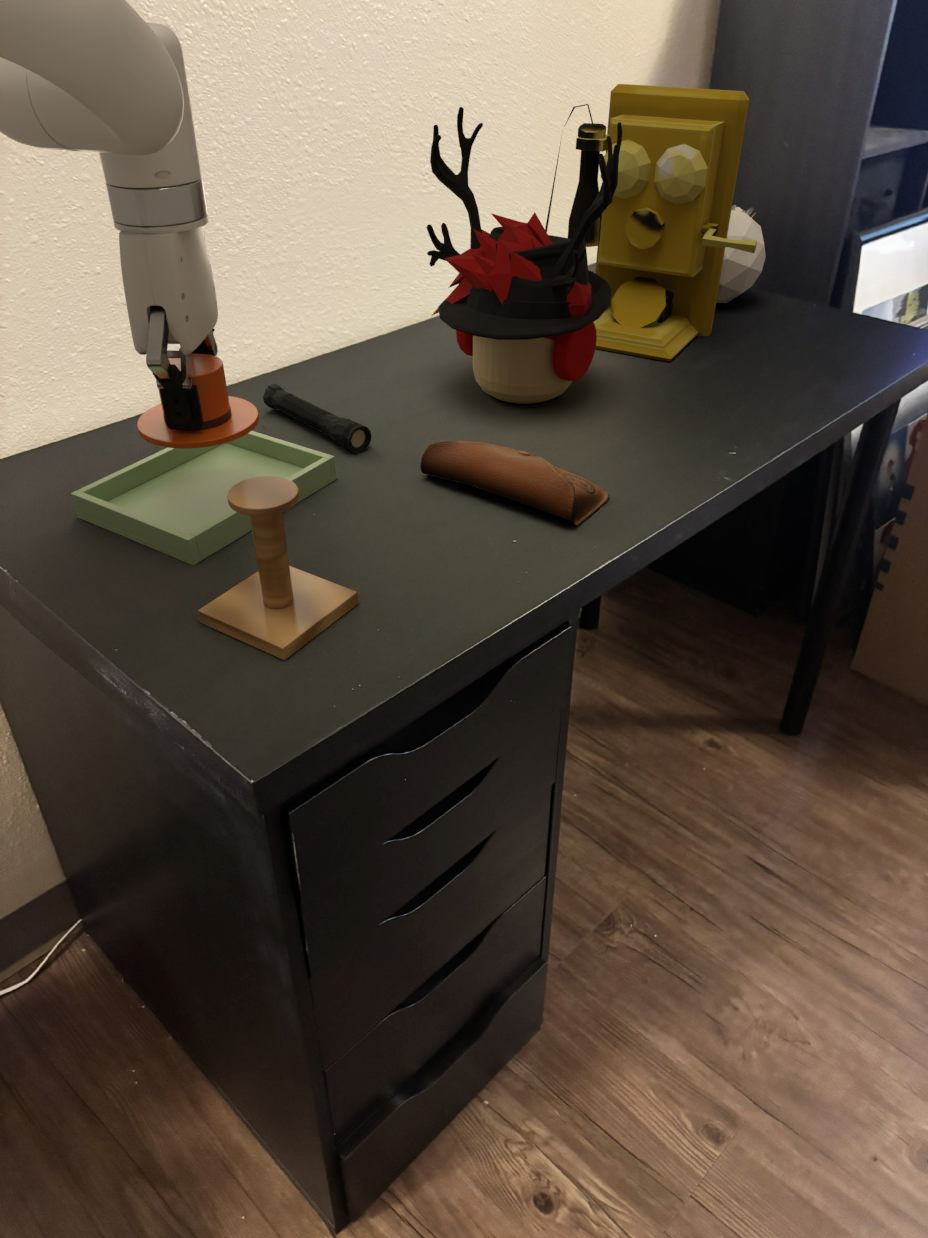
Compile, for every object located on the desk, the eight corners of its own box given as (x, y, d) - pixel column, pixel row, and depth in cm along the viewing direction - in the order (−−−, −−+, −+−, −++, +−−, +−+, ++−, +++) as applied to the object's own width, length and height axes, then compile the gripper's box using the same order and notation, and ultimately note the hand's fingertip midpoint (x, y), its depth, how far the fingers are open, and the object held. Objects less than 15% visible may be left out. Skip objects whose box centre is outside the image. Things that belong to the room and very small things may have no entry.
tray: (193, 565, 79) (188, 540, 78) (77, 517, 86) (70, 493, 85) (336, 479, 93) (334, 455, 91) (226, 443, 100) (222, 421, 98)
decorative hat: (644, 387, 113) (677, 112, 95) (555, 446, 99) (575, 138, 81) (493, 349, 124) (498, 96, 106) (394, 398, 110) (380, 117, 92)
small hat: (197, 459, 79) (185, 398, 76) (112, 430, 84) (98, 371, 80) (283, 416, 86) (276, 358, 83) (201, 391, 91) (191, 336, 88)
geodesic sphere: (741, 242, 148) (710, 169, 138) (804, 263, 137) (775, 186, 128) (674, 308, 149) (638, 241, 139) (732, 334, 138) (697, 263, 129)
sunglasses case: (615, 491, 89) (604, 449, 84) (582, 548, 88) (568, 510, 82) (466, 445, 98) (447, 405, 92) (433, 497, 96) (411, 459, 90)
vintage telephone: (504, 332, 129) (511, 90, 112) (545, 306, 139) (557, 79, 122) (720, 372, 117) (767, 106, 100) (749, 340, 127) (795, 93, 109)
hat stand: (284, 661, 69) (266, 534, 62) (199, 622, 73) (174, 500, 66) (358, 603, 75) (349, 483, 68) (276, 571, 79) (260, 454, 72)
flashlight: (350, 456, 97) (348, 430, 95) (263, 411, 107) (260, 386, 105) (372, 448, 99) (370, 422, 97) (284, 404, 108) (281, 380, 106)
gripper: (148, 182, 81) (185, 377, 92) (70, 229, 67) (124, 453, 78) (231, 183, 81) (258, 378, 91) (171, 230, 67) (211, 455, 77)
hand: (196, 411), depth 84 cm, fingers closed on small hat, 6 cm apart
